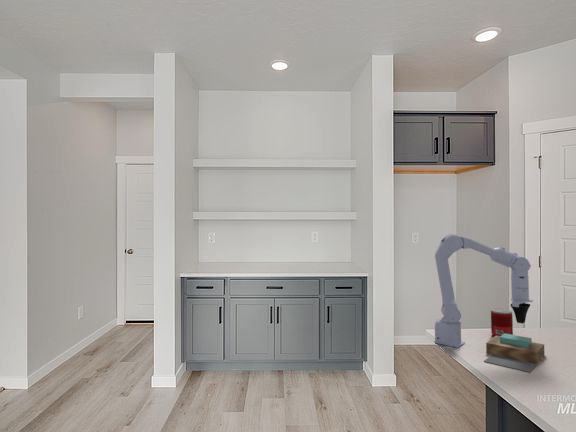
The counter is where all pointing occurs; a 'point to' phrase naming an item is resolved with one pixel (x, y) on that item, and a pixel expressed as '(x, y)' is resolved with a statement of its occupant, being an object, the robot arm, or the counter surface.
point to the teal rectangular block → (516, 340)
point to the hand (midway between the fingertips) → (520, 322)
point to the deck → (515, 350)
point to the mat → (510, 363)
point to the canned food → (501, 322)
